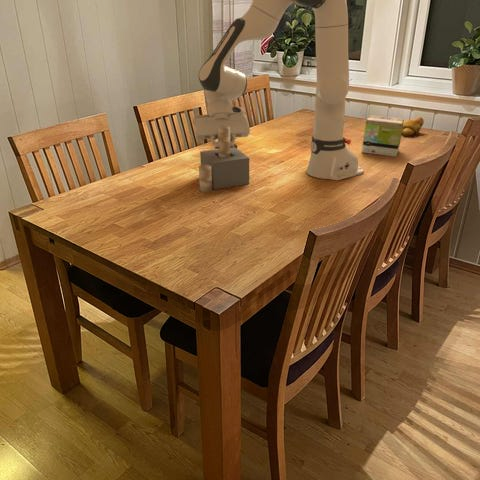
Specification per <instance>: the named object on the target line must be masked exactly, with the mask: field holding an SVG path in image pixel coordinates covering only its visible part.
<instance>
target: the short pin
mask: <svg viewBox="0 0 480 480" xmlns="http://www.w3.org/2000/svg"><path fill="white" fill-rule="evenodd" d="M198 177H199V179H198V180H199V192H200V193H202V194H203V193H204V194H208V193H211V192H213V188H212V171H211V166H210V165H201V164H200V165H199V166H198Z"/></svg>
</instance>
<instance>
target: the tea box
mask: <svg viewBox="0 0 480 480" xmlns="http://www.w3.org/2000/svg"><path fill="white" fill-rule="evenodd" d="M404 121H405V118H401V117H391V116H382V115H371V114H369V116H368V117H367V119H366V122H365V127H364V132H363V133H364V135H363V141H362V148H361V153H362V154H363V153H364V154H365V153H366V154H372V155H373V154H374V155H379V156H388V157H393V158H394V157H397V154H398V152H399V149H400V144H401V140H402V139H401V137H402V135H403V134H402V128H403V123H404Z"/></svg>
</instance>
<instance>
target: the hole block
mask: <svg viewBox="0 0 480 480" xmlns="http://www.w3.org/2000/svg"><path fill="white" fill-rule="evenodd" d="M199 152H200V153H199V154H200V165H210V166H211V171H212V190H218V189H225V188H229V187H238V186H243V185H249V184H250V157H249V156H247V155H246V154H245V153H244V152H242V151H240V149H238V147H237V148H235V147H234V148H230V157H224V158H219V154H218V149H210V150H202V151H199Z"/></svg>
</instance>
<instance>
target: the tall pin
mask: <svg viewBox="0 0 480 480" xmlns="http://www.w3.org/2000/svg"><path fill="white" fill-rule="evenodd" d="M217 142H218V144H219V149H218V154H219V158H224V157H230V127H228V126H220V127H218V138H217Z"/></svg>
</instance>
